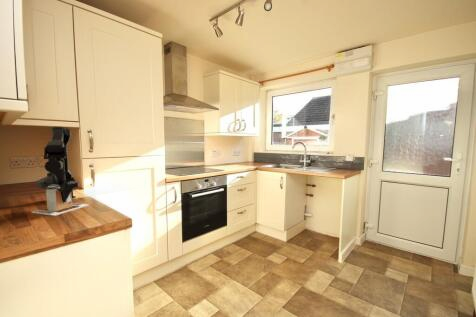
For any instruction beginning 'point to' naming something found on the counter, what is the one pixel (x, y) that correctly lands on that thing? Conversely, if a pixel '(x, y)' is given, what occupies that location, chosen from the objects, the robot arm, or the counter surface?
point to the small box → (57, 200)
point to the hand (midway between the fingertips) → (59, 201)
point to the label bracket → (60, 212)
